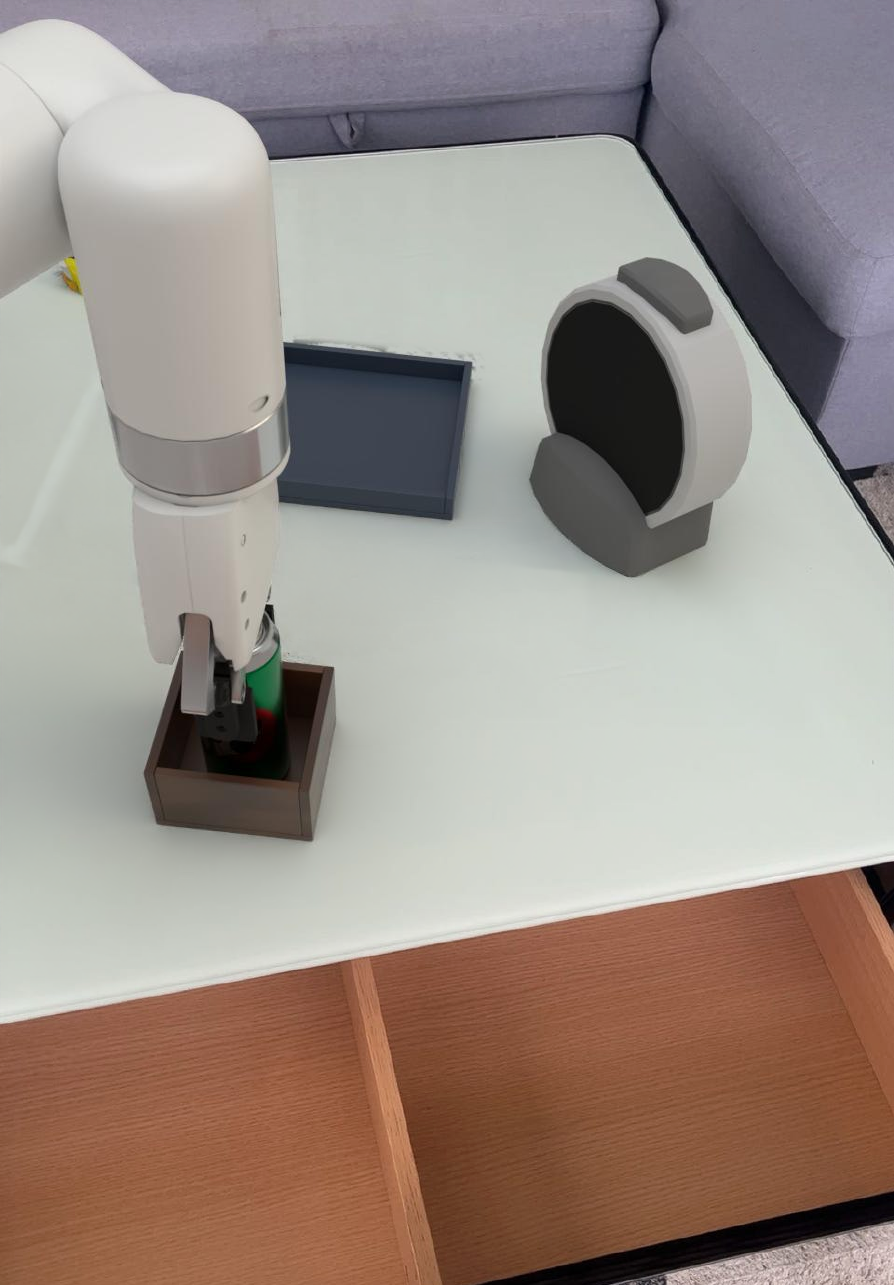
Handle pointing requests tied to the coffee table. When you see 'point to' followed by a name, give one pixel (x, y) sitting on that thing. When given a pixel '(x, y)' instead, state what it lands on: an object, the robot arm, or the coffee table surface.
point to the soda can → (257, 716)
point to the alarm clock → (640, 416)
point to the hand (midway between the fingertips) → (238, 691)
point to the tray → (374, 430)
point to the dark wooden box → (237, 800)
